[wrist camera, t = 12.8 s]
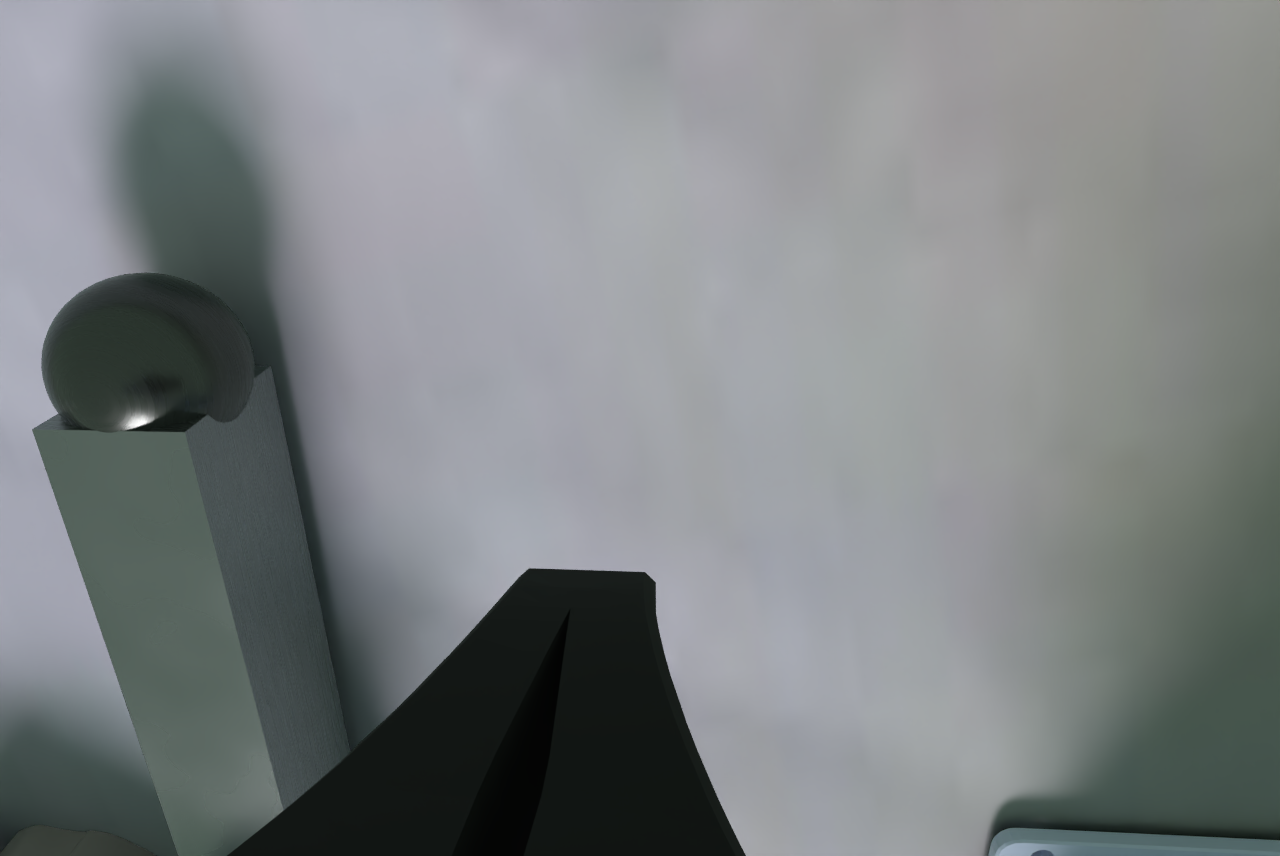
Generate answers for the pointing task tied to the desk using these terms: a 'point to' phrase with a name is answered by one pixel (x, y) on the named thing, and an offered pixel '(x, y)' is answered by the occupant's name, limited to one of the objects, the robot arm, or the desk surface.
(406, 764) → the robot arm
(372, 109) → the desk surface
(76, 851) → the dental mold
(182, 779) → the sliding jaw
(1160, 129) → the desk surface
